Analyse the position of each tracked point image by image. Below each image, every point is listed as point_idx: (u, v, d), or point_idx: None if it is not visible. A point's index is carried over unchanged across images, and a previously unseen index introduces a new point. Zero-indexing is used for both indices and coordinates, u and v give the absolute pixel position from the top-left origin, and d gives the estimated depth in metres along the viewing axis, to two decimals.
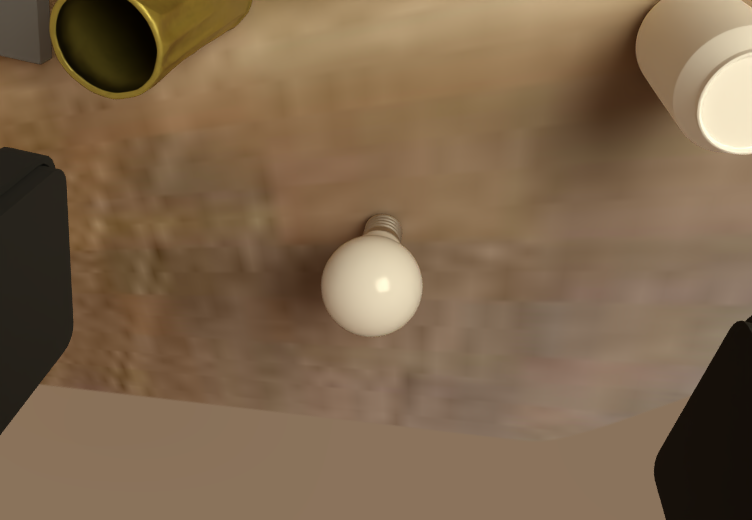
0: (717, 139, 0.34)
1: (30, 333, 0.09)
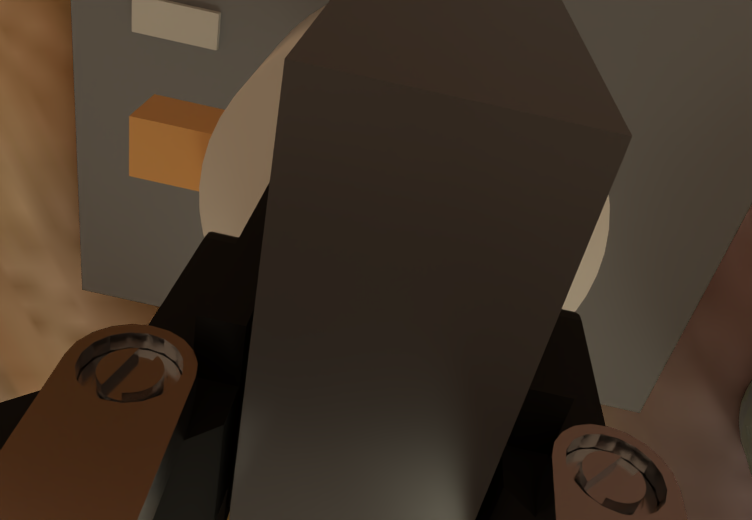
0: None
1: None
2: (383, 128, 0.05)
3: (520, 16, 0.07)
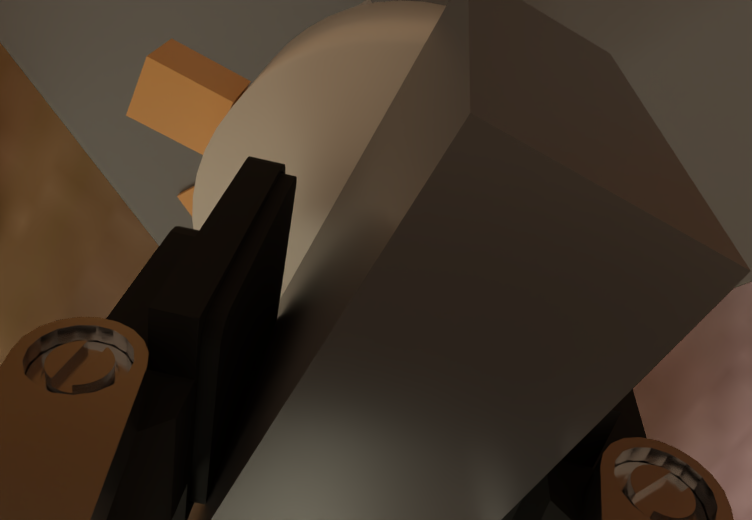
0: None
1: (265, 323, 0.10)
2: (534, 201, 0.05)
3: (613, 102, 0.08)
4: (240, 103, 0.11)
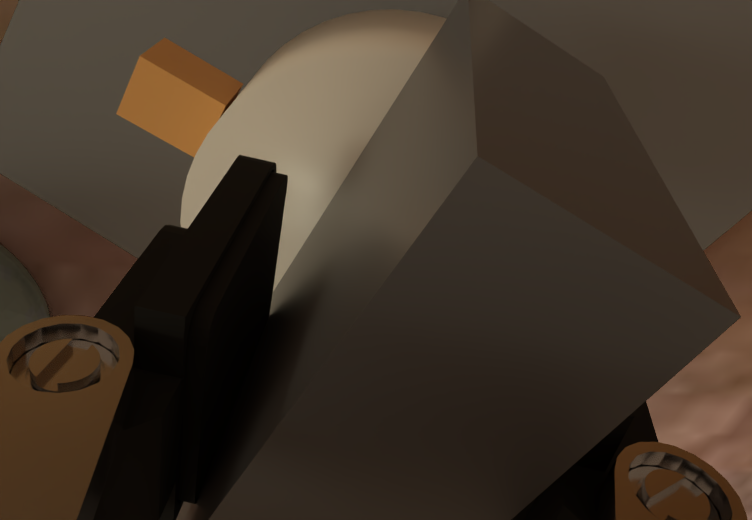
0: None
1: (256, 321, 0.10)
2: (537, 243, 0.05)
3: (608, 133, 0.08)
4: (233, 109, 0.11)
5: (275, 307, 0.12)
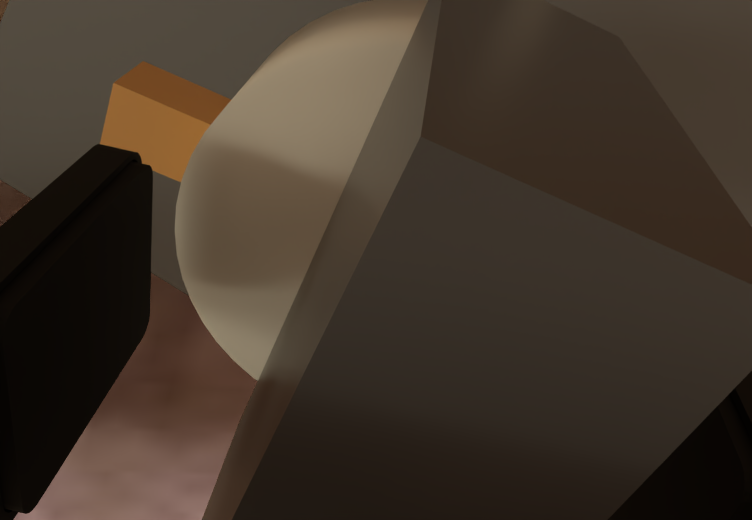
0: None
1: (119, 320, 0.10)
2: (517, 242, 0.04)
3: (622, 96, 0.06)
4: (214, 126, 0.10)
5: (281, 337, 0.10)
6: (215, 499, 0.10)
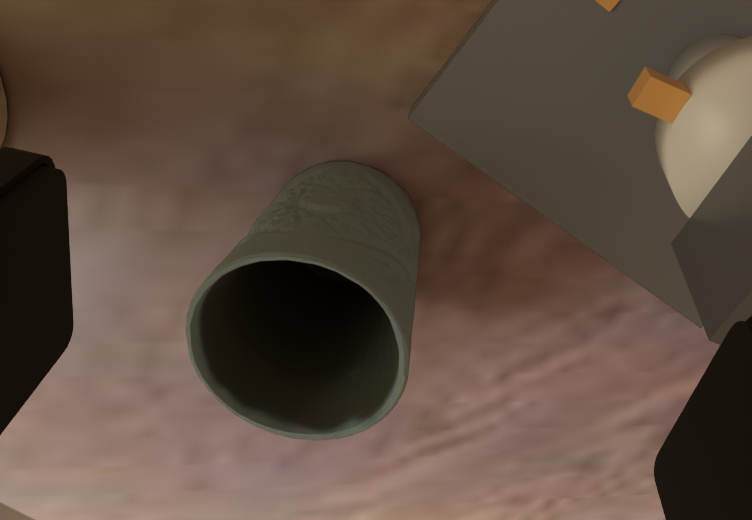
0: None
1: (30, 333, 0.09)
2: None
3: None
4: (710, 93, 0.24)
5: (739, 184, 0.24)
6: (723, 246, 0.24)
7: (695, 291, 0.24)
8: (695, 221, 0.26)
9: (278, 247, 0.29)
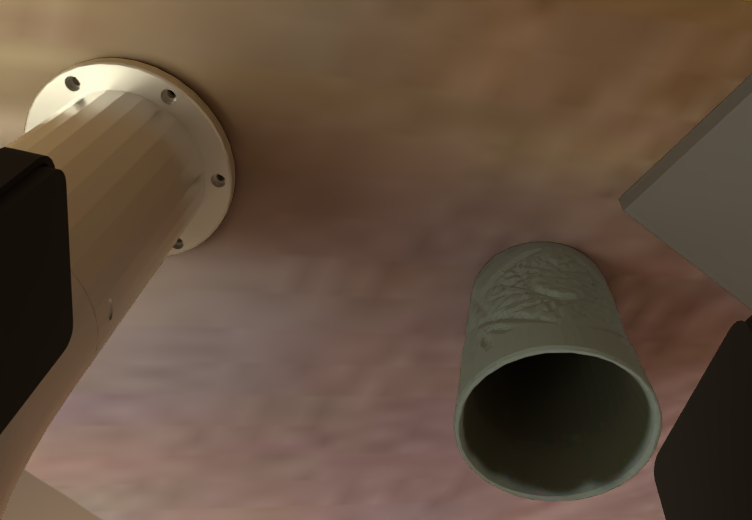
0: None
1: (30, 333, 0.09)
2: None
3: None
4: None
5: None
6: None
7: None
8: None
9: (558, 340, 0.33)
